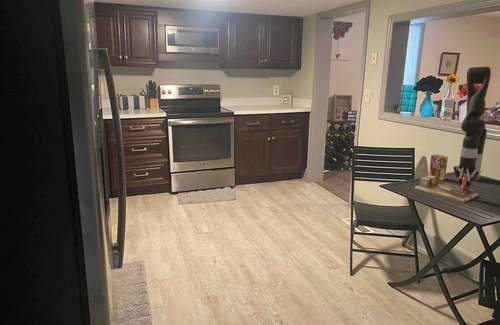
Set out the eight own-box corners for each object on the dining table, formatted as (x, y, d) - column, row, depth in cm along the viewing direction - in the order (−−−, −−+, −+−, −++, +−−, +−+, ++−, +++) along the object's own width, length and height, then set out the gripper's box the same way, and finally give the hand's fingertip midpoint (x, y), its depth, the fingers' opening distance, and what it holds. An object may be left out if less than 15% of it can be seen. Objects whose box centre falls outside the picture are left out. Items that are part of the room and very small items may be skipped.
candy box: (445, 179, 227) (448, 156, 223) (442, 180, 224) (445, 157, 220) (431, 176, 233) (434, 153, 229) (428, 177, 231) (431, 155, 227)
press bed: (429, 183, 220) (431, 173, 218) (477, 196, 197) (479, 185, 195) (414, 188, 211) (415, 178, 210) (463, 202, 189) (464, 191, 187)
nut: (432, 185, 212) (433, 179, 211) (439, 187, 209) (440, 181, 208) (428, 187, 210) (429, 180, 209) (435, 188, 207) (436, 182, 206)
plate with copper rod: (457, 191, 202) (460, 172, 199) (469, 194, 196) (472, 175, 194) (450, 193, 198) (452, 175, 195) (462, 197, 193) (465, 178, 190)
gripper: (486, 157, 186) (481, 188, 191) (459, 152, 197) (455, 181, 202) (479, 159, 182) (474, 191, 187) (451, 154, 194) (447, 184, 198)
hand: (464, 185), depth 194 cm, fingers closed on plate with copper rod, 3 cm apart
